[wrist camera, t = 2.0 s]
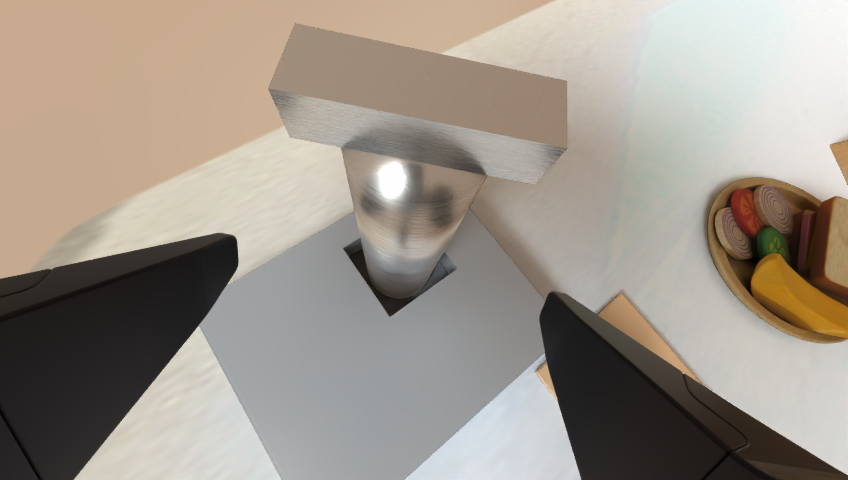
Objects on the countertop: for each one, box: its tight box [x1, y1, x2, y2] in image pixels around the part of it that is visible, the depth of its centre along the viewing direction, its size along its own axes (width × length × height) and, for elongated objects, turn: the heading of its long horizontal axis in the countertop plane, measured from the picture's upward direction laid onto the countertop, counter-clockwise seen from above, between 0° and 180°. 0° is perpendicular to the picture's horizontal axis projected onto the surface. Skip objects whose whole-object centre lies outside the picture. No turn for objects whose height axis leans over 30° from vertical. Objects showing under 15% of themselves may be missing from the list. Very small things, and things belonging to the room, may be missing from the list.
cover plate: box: [199, 208, 545, 480], centre depth 19 cm, size 16×13×2 cm
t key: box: [268, 23, 567, 298], centre depth 14 cm, size 4×6×15 cm, turn 82°
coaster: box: [535, 294, 702, 401], centre depth 20 cm, size 8×8×1 cm
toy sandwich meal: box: [708, 178, 848, 343], centre depth 22 cm, size 12×14×5 cm
